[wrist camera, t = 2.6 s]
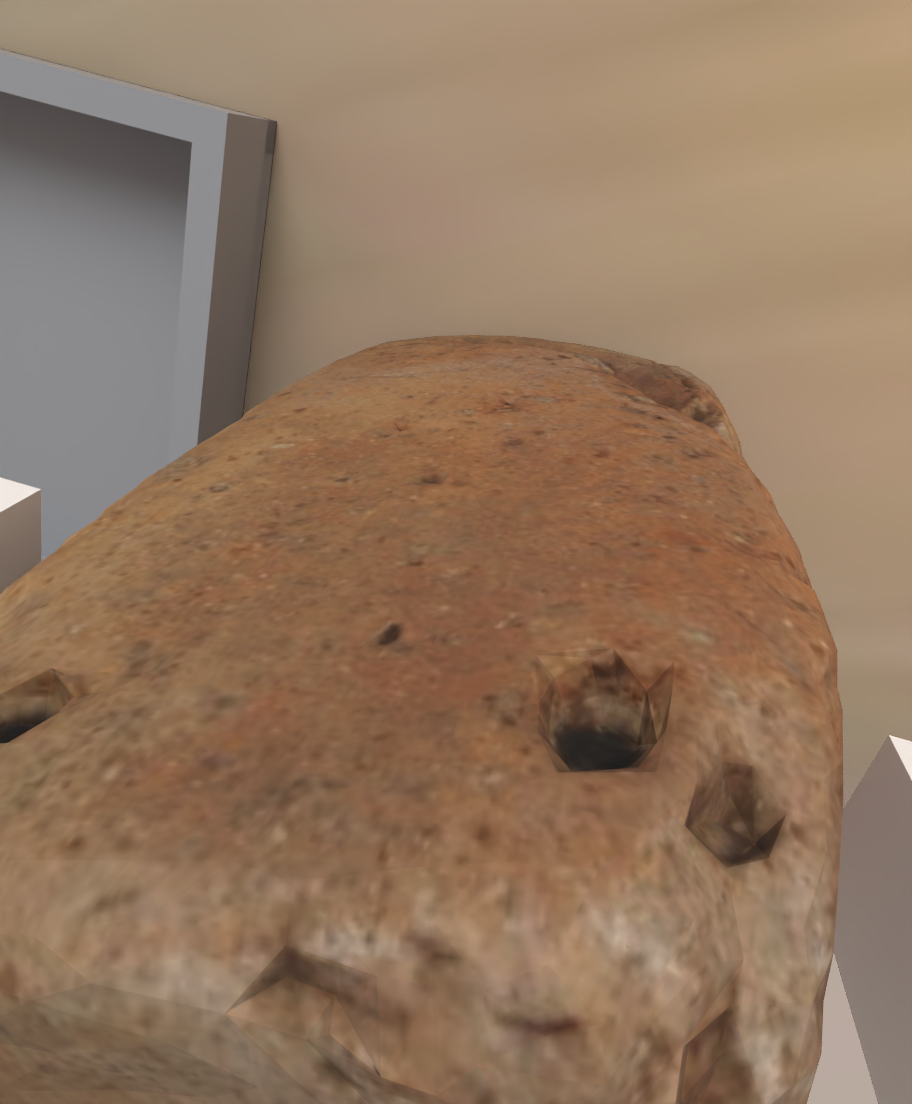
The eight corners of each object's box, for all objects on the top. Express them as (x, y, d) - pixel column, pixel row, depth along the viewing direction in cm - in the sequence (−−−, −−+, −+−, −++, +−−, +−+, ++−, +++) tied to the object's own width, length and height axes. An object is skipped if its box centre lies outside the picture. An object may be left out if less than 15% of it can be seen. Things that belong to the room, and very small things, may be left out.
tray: (276, 121, 21) (227, 112, 18) (218, 618, 28) (176, 664, 25) (-164, 5, 22) (-273, -20, 19) (-115, 517, 29) (-191, 551, 26)
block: (359, 559, 26) (-197, 1384, 8) (339, 320, 23) (-620, 807, 5) (708, 577, 24) (970, 1691, 6) (736, 320, 21) (1403, 1082, 3)
